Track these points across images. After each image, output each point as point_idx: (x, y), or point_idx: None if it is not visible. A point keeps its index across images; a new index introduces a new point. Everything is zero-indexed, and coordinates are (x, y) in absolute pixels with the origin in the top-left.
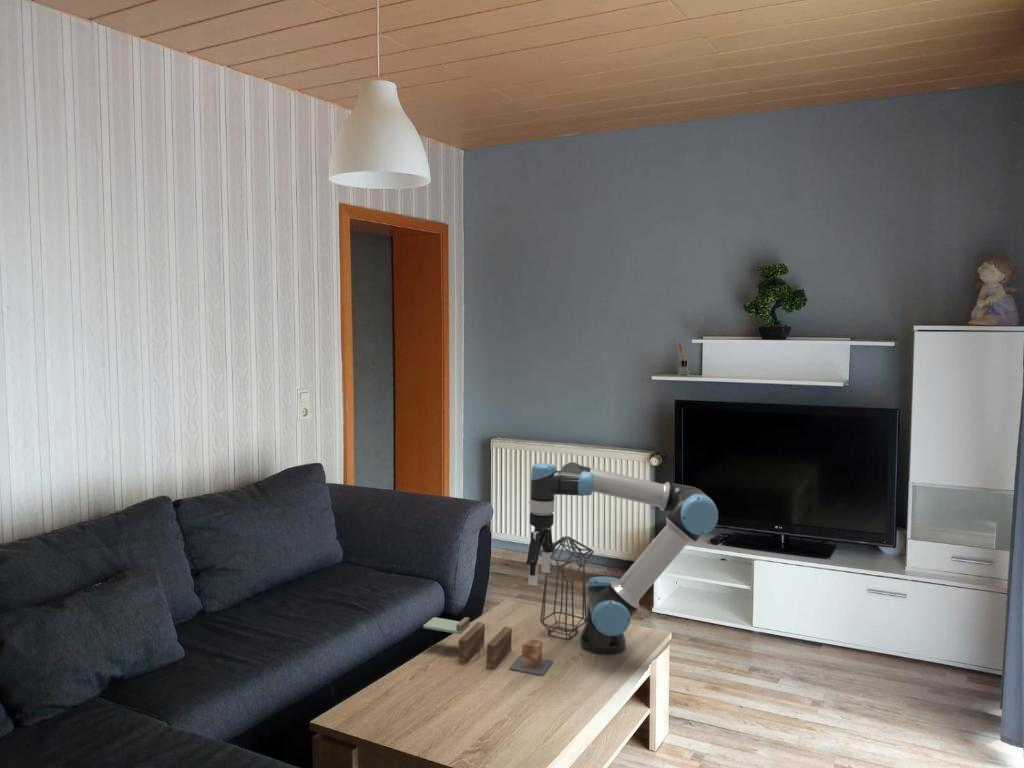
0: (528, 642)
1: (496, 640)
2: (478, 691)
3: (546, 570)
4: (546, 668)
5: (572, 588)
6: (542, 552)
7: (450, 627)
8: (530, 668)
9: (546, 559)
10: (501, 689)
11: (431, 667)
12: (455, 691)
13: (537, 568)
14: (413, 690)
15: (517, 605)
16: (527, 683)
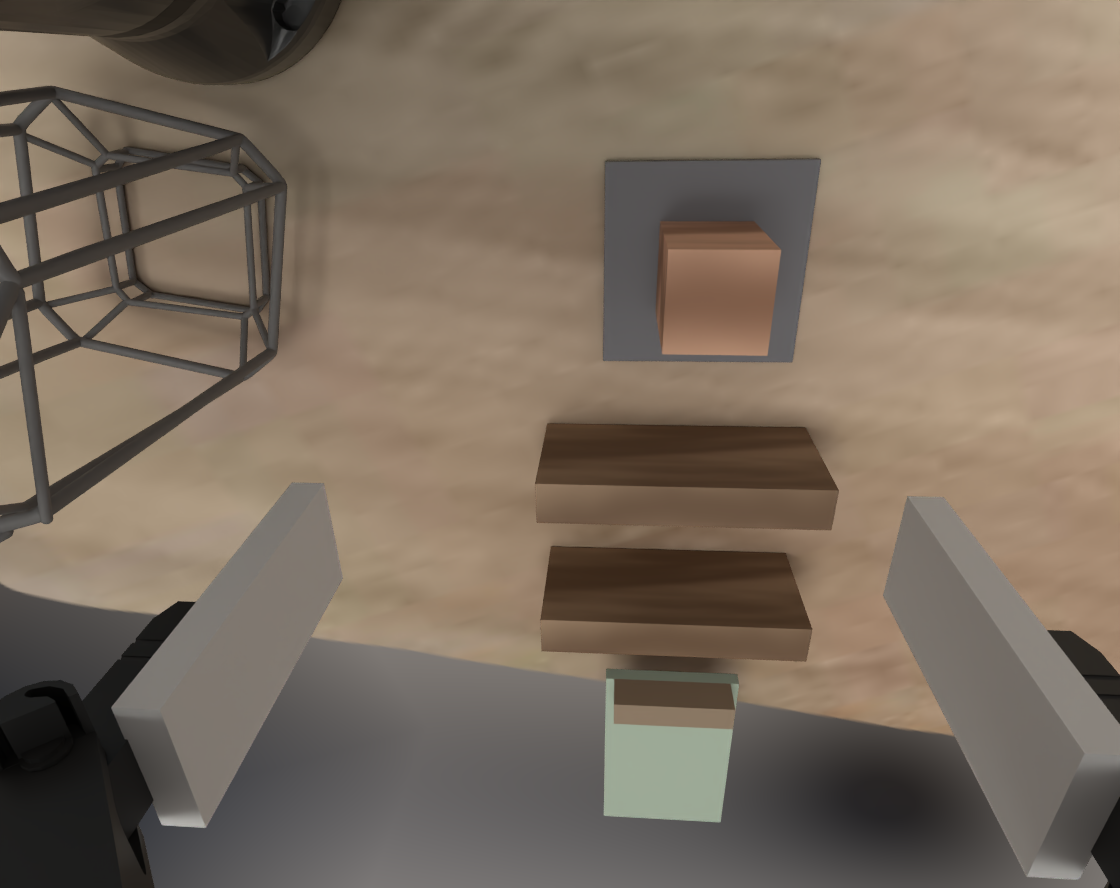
0: (727, 327)
1: (755, 504)
2: (1074, 415)
3: (320, 537)
4: (732, 166)
5: (37, 200)
6: (206, 820)
7: (699, 732)
8: None
9: (247, 659)
10: (1035, 322)
11: (859, 653)
12: (1088, 504)
13: (1076, 690)
14: (1098, 643)
15: (24, 552)
16: (933, 215)
